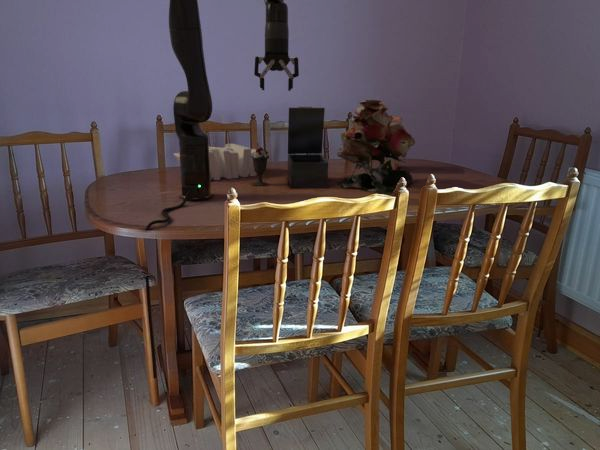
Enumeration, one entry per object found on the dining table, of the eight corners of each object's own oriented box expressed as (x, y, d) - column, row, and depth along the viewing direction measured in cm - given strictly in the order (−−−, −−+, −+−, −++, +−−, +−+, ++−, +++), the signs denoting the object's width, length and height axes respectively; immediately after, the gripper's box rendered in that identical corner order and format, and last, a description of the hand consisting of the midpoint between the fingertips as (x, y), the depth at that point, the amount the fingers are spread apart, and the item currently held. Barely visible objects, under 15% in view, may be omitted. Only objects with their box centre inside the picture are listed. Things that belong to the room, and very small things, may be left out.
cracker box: (396, 173, 213) (399, 119, 207) (380, 172, 215) (384, 119, 209) (399, 166, 226) (402, 116, 220) (384, 165, 228) (387, 115, 222)
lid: (324, 108, 191) (322, 103, 196) (288, 108, 190) (287, 103, 195) (321, 153, 201) (320, 147, 205) (287, 153, 200) (286, 147, 204)
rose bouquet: (418, 180, 200) (424, 98, 191) (389, 196, 176) (394, 103, 167) (355, 173, 213) (358, 95, 204) (320, 187, 189) (322, 99, 180)
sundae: (252, 186, 188) (252, 144, 183) (249, 182, 194) (248, 141, 190) (271, 186, 190) (271, 143, 185) (267, 181, 196) (267, 140, 191)
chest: (327, 187, 188) (328, 162, 185) (291, 188, 187) (291, 162, 184) (321, 177, 204) (321, 154, 201) (287, 177, 203) (287, 154, 200)
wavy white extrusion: (185, 183, 192) (184, 154, 188) (172, 174, 205) (171, 147, 202) (273, 174, 208) (273, 147, 205) (255, 167, 222) (255, 141, 219)
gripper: (254, 36, 165) (254, 90, 170) (300, 37, 167) (299, 91, 171) (253, 37, 172) (254, 89, 177) (298, 38, 174) (297, 90, 178)
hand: (276, 90), depth 174 cm, fingers open, 8 cm apart
